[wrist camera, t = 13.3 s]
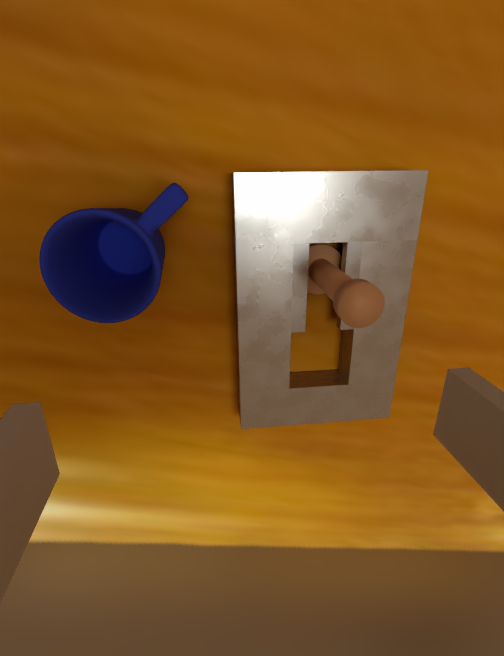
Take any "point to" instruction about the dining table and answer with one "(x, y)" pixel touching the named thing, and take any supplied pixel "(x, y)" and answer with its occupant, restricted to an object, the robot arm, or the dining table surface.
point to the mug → (108, 258)
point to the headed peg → (343, 288)
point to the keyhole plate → (291, 288)
